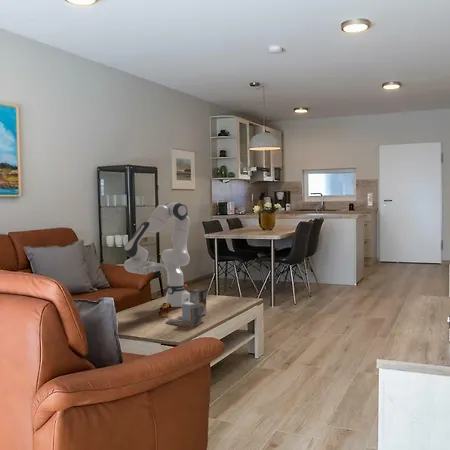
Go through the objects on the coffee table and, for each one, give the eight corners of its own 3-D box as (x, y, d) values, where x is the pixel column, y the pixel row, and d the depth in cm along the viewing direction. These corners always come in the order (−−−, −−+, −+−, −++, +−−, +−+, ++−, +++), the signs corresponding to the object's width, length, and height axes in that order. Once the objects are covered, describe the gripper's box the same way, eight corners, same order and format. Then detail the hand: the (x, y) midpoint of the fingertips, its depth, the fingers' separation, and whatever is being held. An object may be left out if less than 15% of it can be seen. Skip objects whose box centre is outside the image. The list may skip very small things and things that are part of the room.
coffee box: (199, 312, 336) (200, 288, 335) (206, 314, 332) (206, 289, 330) (189, 315, 330) (189, 290, 329) (196, 317, 325) (196, 291, 324)
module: (187, 320, 312) (187, 301, 311) (195, 322, 309) (195, 303, 308) (182, 322, 308) (182, 303, 307) (190, 323, 304) (190, 304, 304)
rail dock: (180, 318, 321) (180, 301, 320) (203, 322, 311) (203, 305, 310) (165, 323, 309) (165, 305, 309) (189, 328, 299) (189, 309, 298)
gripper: (132, 264, 323) (148, 266, 316) (154, 261, 340) (170, 262, 332) (132, 274, 324) (148, 276, 316) (154, 270, 341) (170, 272, 333)
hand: (160, 269), depth 324 cm, fingers open, 8 cm apart
